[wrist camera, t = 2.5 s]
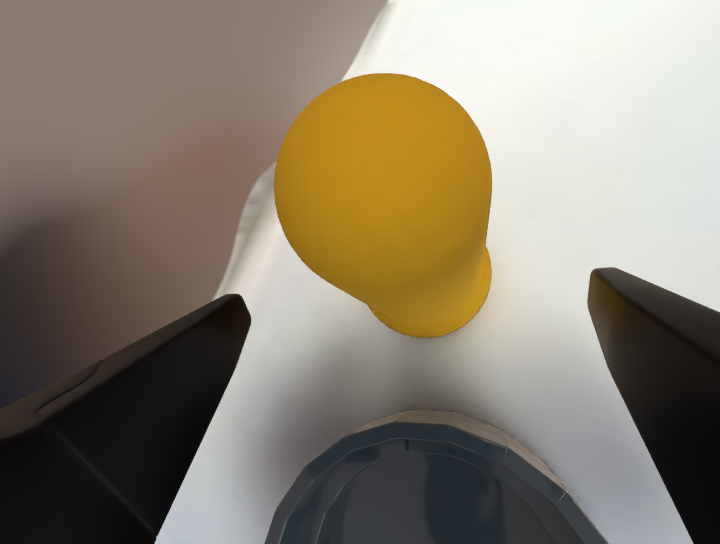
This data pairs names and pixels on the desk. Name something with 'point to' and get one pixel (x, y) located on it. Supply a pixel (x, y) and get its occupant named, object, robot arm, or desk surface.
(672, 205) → the desk surface
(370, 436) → the slate bowl
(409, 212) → the yellow blob
